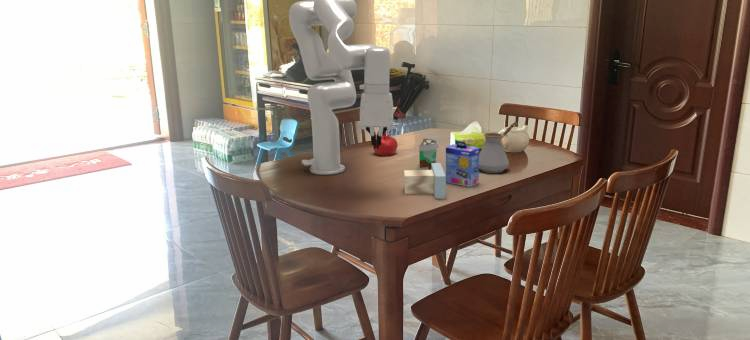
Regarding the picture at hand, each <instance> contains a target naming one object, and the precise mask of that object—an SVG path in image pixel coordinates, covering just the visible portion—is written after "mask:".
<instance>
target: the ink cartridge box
mask: <svg viewBox="0 0 750 340" xmlns="http://www.w3.org/2000/svg"><path fill="white" fill-rule="evenodd" d="M479 154H480V148H479V147H476V146H469V145H467V144H466V141H462V140H455V144H451V145H448V146H446V147H445V176H446V183H447V184H452V185H458V186H462V187H468V188H472V187H474V186H476V185H478V184H480V179H479V178H480V168H479Z"/></svg>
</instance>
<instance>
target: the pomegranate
mask: <svg viewBox="0 0 750 340" xmlns="http://www.w3.org/2000/svg"><path fill="white" fill-rule="evenodd" d="M398 145H399V144H398V141H397V139H396V138H395V137H393V135H392V134H387V131H386V132H385V133H383V135H382V136H381V145H379V149H377V136H376V148H375V149H374V145H372V148H373V152H374V153H375V154H376V155H378V156H381V157H386V156H393V155H394V154H395V153H396V152H397V150H398V149H397V148H398V147H399V146H398Z"/></svg>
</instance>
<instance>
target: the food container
mask: <svg viewBox="0 0 750 340" xmlns="http://www.w3.org/2000/svg"><path fill="white" fill-rule="evenodd" d="M418 148H419V149H418V152H419V154H418V155H419V170H431V163H437V161H436V160H437V151H438V150H437V149H439V143H438V141H437V140H436V139H434V138H424V137H423V138H422V142H421V144H419V145H418Z"/></svg>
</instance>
